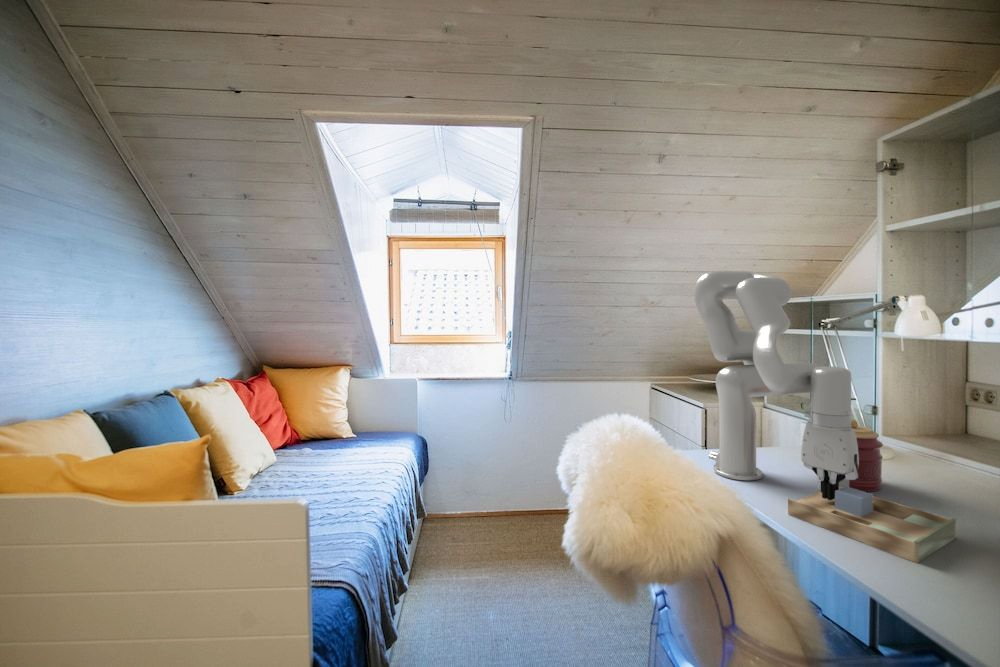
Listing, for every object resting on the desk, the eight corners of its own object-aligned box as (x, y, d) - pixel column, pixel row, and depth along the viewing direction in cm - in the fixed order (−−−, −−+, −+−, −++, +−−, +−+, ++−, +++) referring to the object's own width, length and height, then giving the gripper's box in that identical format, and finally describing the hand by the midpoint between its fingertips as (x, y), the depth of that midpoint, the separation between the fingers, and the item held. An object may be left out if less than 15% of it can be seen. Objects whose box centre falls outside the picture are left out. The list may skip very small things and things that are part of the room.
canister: (844, 471, 127) (845, 411, 127) (894, 489, 115) (896, 422, 114) (809, 477, 124) (810, 415, 123) (857, 495, 112) (858, 426, 111)
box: (787, 514, 102) (788, 497, 102) (828, 497, 110) (829, 482, 110) (917, 563, 82) (917, 542, 82) (955, 538, 90) (955, 519, 90)
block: (834, 508, 99) (835, 490, 99) (846, 503, 102) (846, 486, 101) (861, 517, 95) (861, 499, 95) (872, 511, 97) (872, 494, 97)
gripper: (787, 416, 106) (786, 490, 107) (860, 429, 93) (859, 514, 94) (804, 412, 110) (803, 484, 111) (877, 424, 97) (876, 506, 97)
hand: (829, 497), depth 102 cm, fingers closed
